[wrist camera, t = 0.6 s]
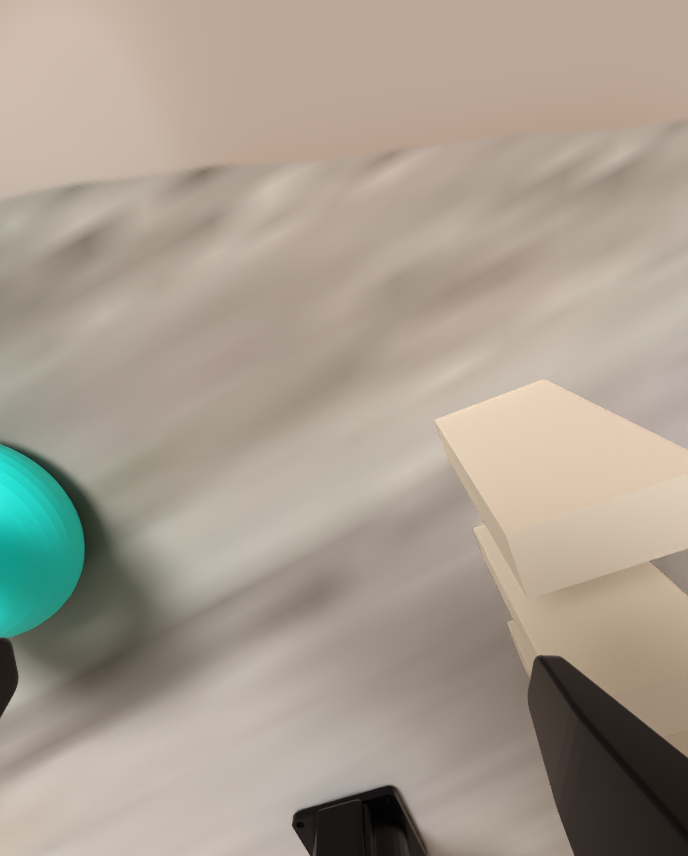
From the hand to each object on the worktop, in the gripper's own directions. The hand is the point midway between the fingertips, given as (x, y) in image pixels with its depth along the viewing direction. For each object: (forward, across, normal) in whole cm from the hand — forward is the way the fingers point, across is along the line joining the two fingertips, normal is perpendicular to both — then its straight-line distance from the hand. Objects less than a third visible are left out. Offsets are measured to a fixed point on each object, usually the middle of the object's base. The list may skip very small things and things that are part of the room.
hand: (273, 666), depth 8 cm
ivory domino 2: (+14, -10, +4) cm, 18 cm away
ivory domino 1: (+14, -8, -1) cm, 16 cm away
